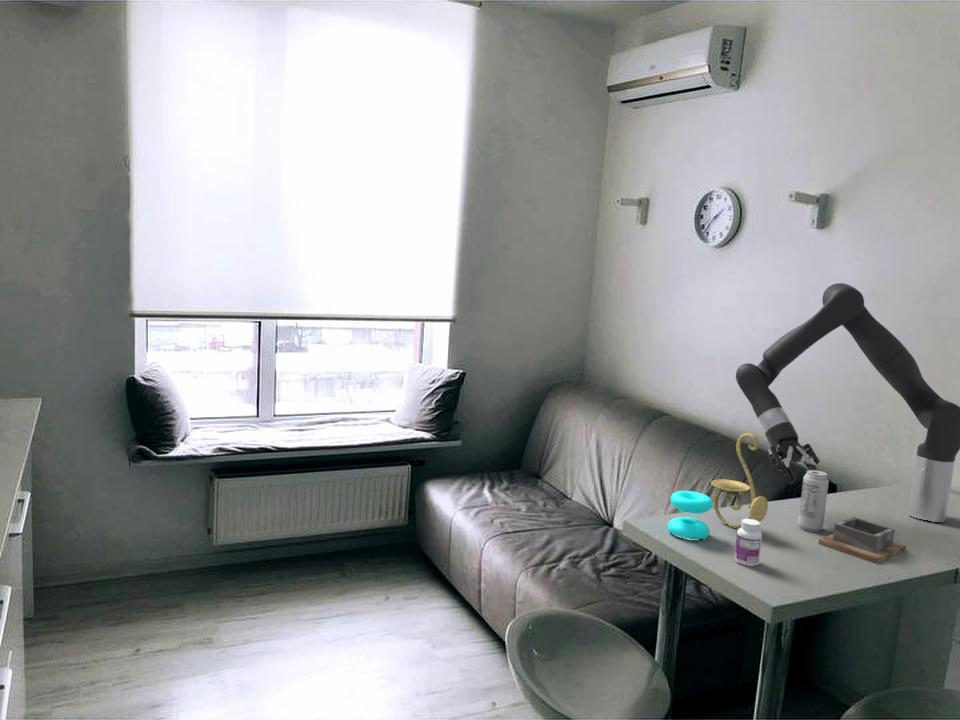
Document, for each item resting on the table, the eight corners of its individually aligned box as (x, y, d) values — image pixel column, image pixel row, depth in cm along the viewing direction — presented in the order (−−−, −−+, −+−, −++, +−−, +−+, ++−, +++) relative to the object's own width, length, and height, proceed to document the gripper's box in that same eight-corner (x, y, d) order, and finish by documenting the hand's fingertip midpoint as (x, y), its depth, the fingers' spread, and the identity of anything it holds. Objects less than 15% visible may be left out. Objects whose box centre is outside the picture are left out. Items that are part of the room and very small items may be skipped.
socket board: (849, 532, 206) (851, 512, 205) (905, 550, 195) (908, 529, 195) (818, 543, 196) (820, 523, 195) (876, 563, 185) (879, 542, 184)
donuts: (722, 499, 193) (691, 504, 188) (717, 539, 194) (687, 544, 189) (692, 487, 202) (662, 491, 197) (688, 525, 203) (658, 530, 198)
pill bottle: (736, 555, 184) (741, 515, 183) (760, 561, 182) (765, 520, 180) (731, 563, 180) (736, 521, 178) (755, 569, 177) (760, 527, 176)
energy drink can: (827, 532, 205) (835, 475, 203) (808, 533, 203) (815, 476, 201) (811, 524, 210) (818, 468, 208) (792, 525, 209) (799, 469, 206)
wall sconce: (768, 533, 201) (779, 436, 197) (744, 539, 195) (756, 440, 192) (722, 516, 212) (733, 424, 208) (699, 521, 206) (709, 427, 203)
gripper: (766, 421, 211) (794, 476, 202) (805, 420, 217) (834, 472, 208) (749, 436, 216) (776, 490, 208) (788, 434, 222) (816, 486, 214)
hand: (805, 481), depth 208 cm, fingers open, 8 cm apart
